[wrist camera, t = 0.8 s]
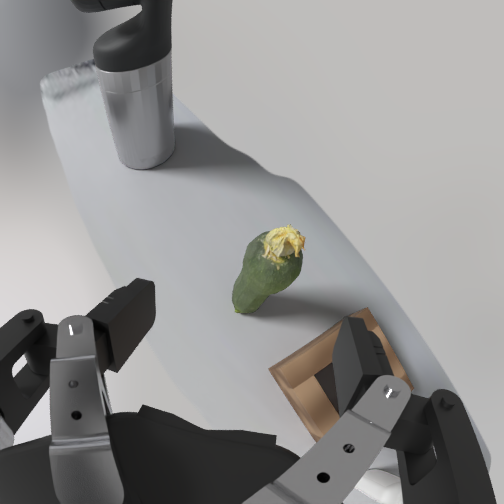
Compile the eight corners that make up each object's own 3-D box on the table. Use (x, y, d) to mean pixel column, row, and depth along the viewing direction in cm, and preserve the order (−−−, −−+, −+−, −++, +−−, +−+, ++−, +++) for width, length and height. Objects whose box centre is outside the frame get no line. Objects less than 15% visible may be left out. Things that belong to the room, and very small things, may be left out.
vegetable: (233, 281, 35) (266, 177, 16) (268, 288, 35) (335, 195, 17) (226, 316, 33) (254, 245, 15) (262, 323, 33) (333, 262, 15)
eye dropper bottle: (368, 458, 28) (427, 479, 17) (390, 475, 27) (446, 495, 16) (346, 482, 26) (399, 513, 15) (369, 498, 25) (422, 526, 14)
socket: (268, 368, 31) (280, 368, 26) (345, 316, 35) (367, 307, 30) (318, 445, 28) (337, 456, 23) (388, 388, 32) (414, 388, 27)
